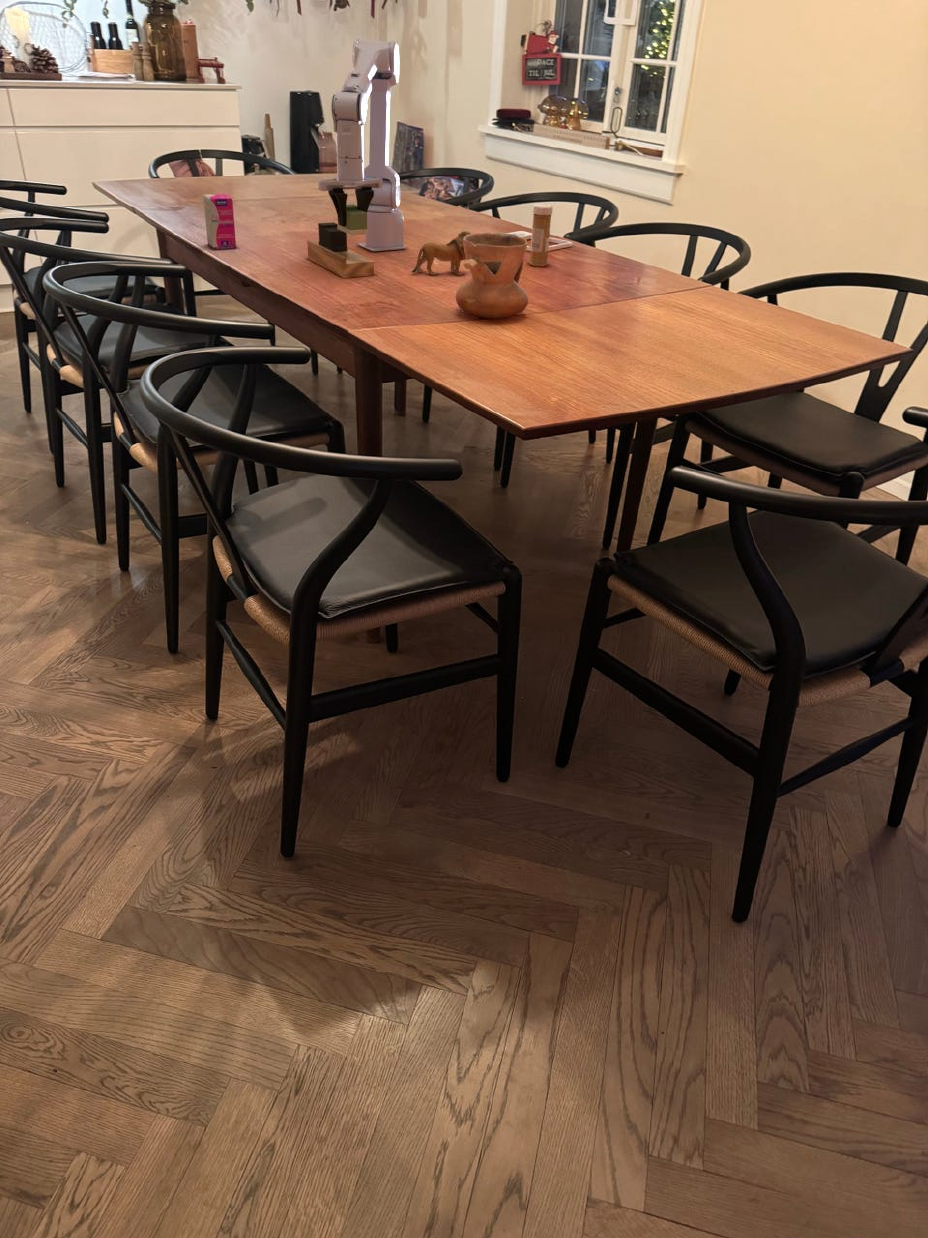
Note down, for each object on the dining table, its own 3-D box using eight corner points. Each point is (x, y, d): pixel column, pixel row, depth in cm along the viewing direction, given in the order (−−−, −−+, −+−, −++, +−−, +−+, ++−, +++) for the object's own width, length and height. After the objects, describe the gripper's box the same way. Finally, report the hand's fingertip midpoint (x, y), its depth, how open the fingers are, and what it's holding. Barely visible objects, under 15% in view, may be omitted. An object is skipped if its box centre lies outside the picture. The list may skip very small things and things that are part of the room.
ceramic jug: (493, 329, 168) (498, 250, 160) (436, 314, 176) (438, 237, 168) (547, 312, 180) (554, 237, 172) (491, 298, 187) (495, 226, 179)
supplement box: (213, 249, 214) (208, 198, 207) (207, 244, 218) (201, 193, 212) (237, 248, 216) (232, 197, 210) (230, 243, 220) (225, 193, 214)
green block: (353, 227, 202) (352, 203, 199) (367, 234, 197) (367, 209, 194) (337, 228, 200) (336, 204, 197) (351, 235, 195) (350, 210, 192)
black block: (334, 244, 211) (333, 221, 208) (347, 251, 206) (346, 227, 203) (318, 245, 209) (317, 222, 206) (331, 252, 204) (330, 229, 201)
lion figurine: (468, 269, 208) (470, 228, 203) (476, 274, 204) (478, 233, 199) (408, 271, 204) (408, 229, 199) (415, 277, 200) (416, 234, 195)
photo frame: (521, 229, 244) (573, 241, 234) (521, 234, 245) (572, 245, 235) (485, 236, 235) (538, 248, 225) (485, 240, 236) (537, 252, 226)
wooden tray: (337, 256, 214) (336, 237, 211) (374, 275, 200) (374, 255, 198) (308, 258, 210) (307, 239, 208) (344, 278, 197) (343, 258, 194)
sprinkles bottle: (551, 265, 215) (556, 205, 207) (536, 267, 213) (541, 206, 205) (539, 261, 218) (545, 202, 211) (524, 263, 216) (529, 203, 208)
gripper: (326, 160, 184) (329, 230, 191) (388, 158, 190) (389, 226, 198) (313, 155, 189) (316, 224, 196) (374, 153, 195) (374, 220, 203)
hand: (352, 224), depth 197 cm, fingers closed on green block, 4 cm apart
